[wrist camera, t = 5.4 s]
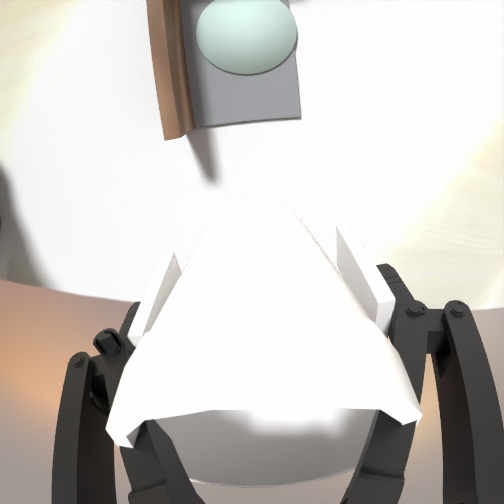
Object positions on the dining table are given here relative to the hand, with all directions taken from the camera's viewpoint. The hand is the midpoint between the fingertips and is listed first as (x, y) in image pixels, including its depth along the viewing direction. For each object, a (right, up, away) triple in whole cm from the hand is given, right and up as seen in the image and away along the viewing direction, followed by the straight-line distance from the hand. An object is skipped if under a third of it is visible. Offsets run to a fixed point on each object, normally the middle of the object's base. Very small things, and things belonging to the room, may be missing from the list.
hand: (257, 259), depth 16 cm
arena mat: (-2, +24, +8) cm, 26 cm away
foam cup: (0, +1, +2) cm, 2 cm away
